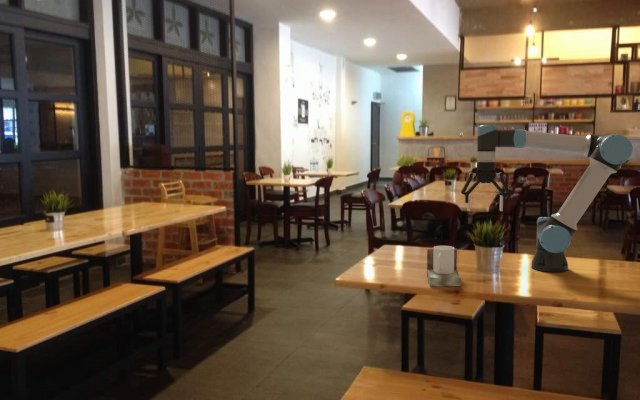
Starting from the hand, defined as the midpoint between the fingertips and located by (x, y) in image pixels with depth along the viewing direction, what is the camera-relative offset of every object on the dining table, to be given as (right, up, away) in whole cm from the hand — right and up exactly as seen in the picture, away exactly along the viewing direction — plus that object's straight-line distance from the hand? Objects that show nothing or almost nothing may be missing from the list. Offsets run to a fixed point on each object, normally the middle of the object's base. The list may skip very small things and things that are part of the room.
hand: (484, 210), depth 244 cm
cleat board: (-21, -29, -13) cm, 38 cm away
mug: (-21, -25, -14) cm, 36 cm away
